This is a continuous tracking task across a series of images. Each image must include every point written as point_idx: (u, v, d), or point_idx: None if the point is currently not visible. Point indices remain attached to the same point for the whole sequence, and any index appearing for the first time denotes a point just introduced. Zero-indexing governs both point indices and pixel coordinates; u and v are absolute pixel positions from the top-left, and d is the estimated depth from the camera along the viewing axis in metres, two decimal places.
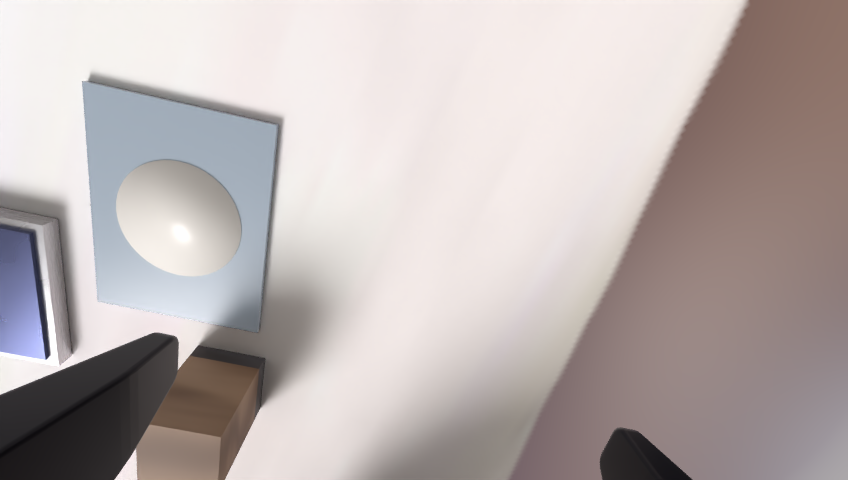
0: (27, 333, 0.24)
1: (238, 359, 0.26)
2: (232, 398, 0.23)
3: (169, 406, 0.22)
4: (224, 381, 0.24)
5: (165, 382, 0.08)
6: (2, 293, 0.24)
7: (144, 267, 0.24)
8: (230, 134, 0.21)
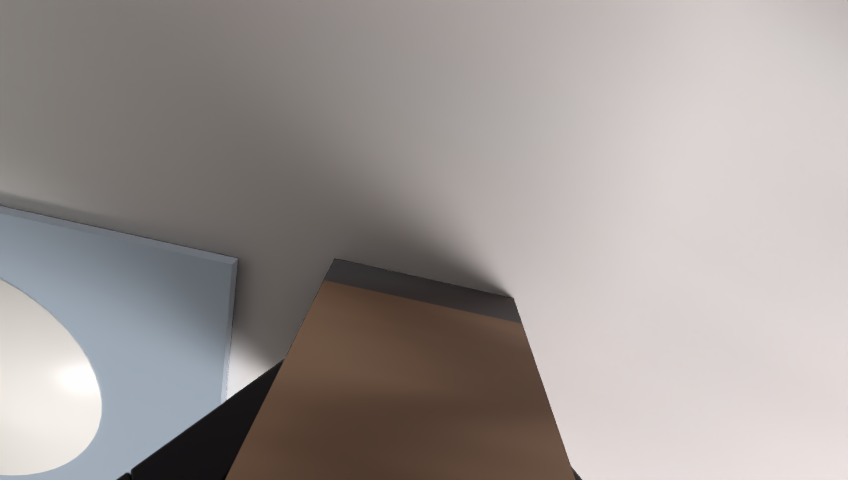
0: None
1: None
2: None
3: None
4: None
5: None
6: None
7: (103, 456, 0.11)
8: None
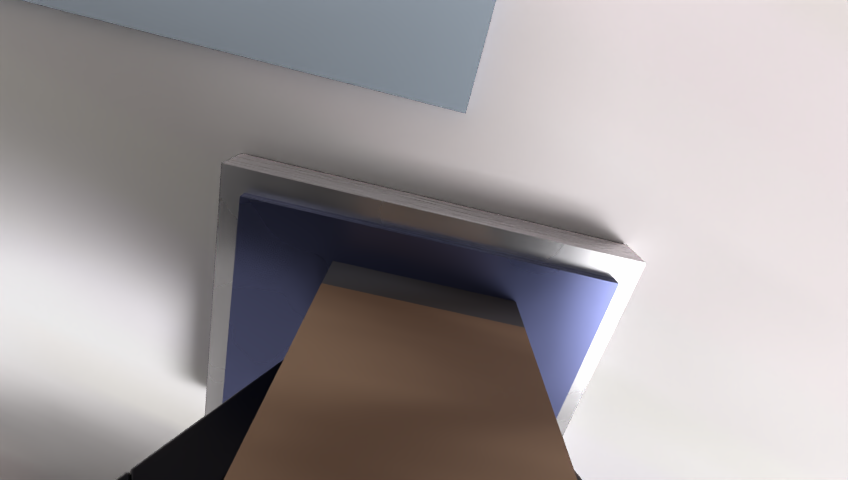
0: (530, 299, 0.09)
1: None
2: None
3: None
4: None
5: None
6: None
7: None
8: None
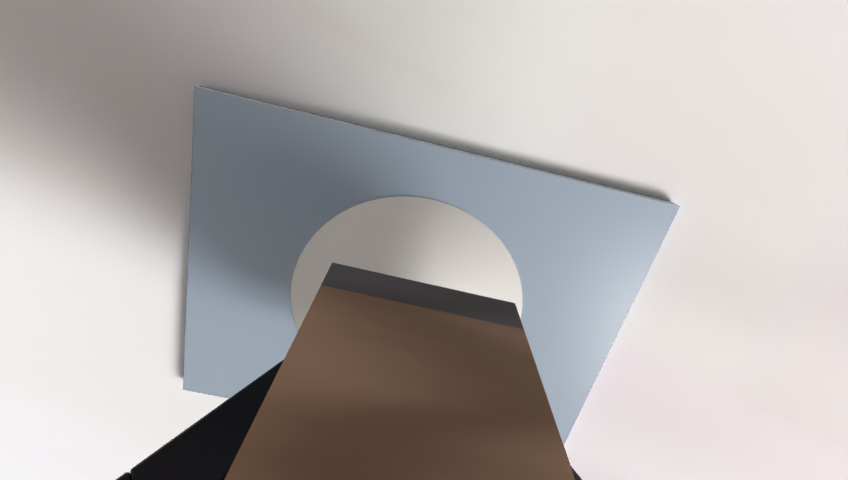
0: None
1: None
2: None
3: None
4: None
5: None
6: None
7: None
8: (228, 184, 0.11)
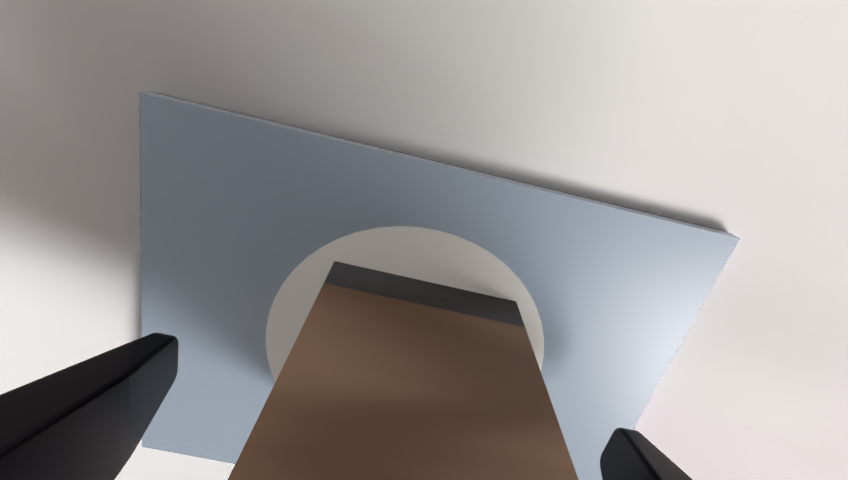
0: None
1: None
2: None
3: None
4: None
5: (165, 382, 0.08)
6: None
7: None
8: (186, 211, 0.09)
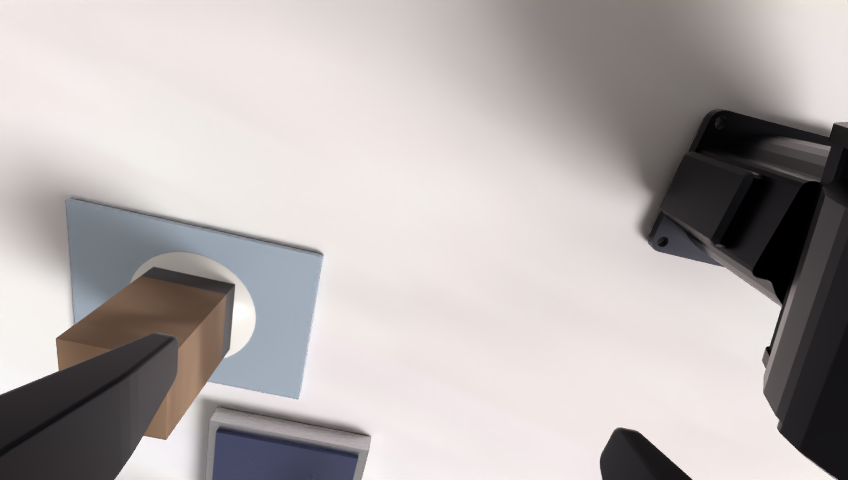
0: (326, 463, 0.25)
1: None
2: None
3: None
4: None
5: (165, 382, 0.08)
6: (282, 468, 0.25)
7: (252, 350, 0.23)
8: (88, 245, 0.21)
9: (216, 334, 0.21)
